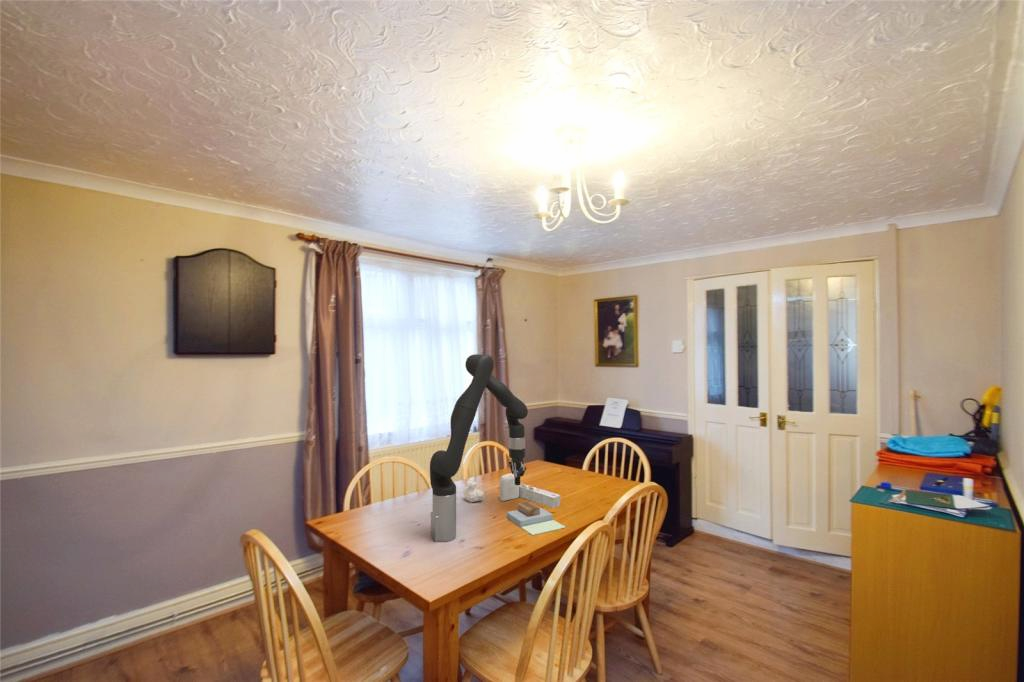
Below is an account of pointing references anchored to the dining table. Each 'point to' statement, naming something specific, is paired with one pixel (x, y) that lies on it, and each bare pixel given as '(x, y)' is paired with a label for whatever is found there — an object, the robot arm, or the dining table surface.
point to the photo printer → (508, 487)
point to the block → (528, 509)
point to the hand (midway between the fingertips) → (517, 484)
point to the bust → (473, 492)
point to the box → (539, 496)
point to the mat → (543, 527)
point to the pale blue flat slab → (525, 521)
